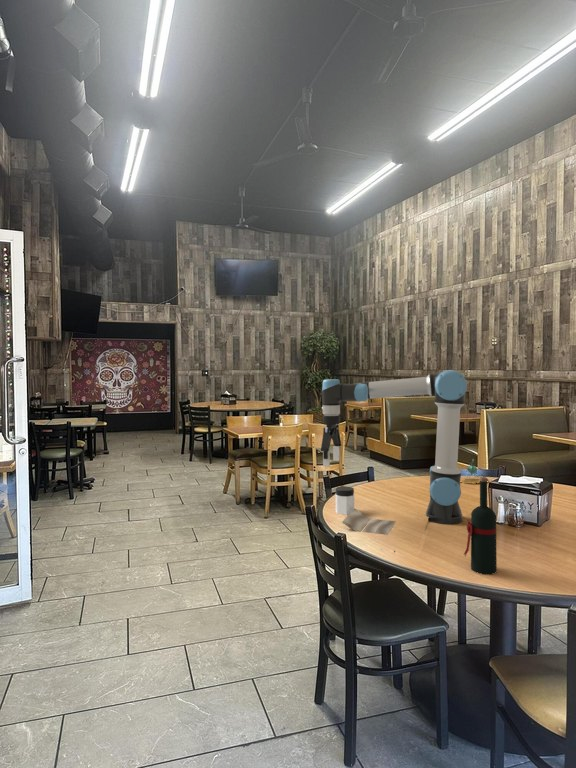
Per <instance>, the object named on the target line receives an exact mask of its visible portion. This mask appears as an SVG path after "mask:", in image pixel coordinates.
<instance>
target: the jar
mask: <svg viewBox="0 0 576 768" xmlns="http://www.w3.org/2000/svg"><path fill="white" fill-rule="evenodd" d="M334 500H335V504H334V505H335V513H336V514H337V515H345V516H346V515H347V516H348V515H349V514H350V513H351V512H352V511H353V510H354V508H355V488H354V487H351V486H346V485H345V486H338V487H335V499H334Z"/></svg>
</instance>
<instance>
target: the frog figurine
mask: <svg viewBox="0 0 576 768" xmlns="http://www.w3.org/2000/svg"><path fill="white" fill-rule="evenodd" d="M474 463H475V458H472V461H471V464H470V463H468V467H467V470H465V472H468V475H467V476H466V478H464V479H461V481H462V482H465V483H464V484H473V485H475V484H476V483H477V484H480V481H481V480H480V477H481V476H482V477H486V474H482V473H481V474H479V475H478V469H477V466H476V465H475V464H474ZM473 475H474V477H473V478H471V476H473ZM487 481H488V482H487V484H488V483H490V480H489V478H487Z"/></svg>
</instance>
